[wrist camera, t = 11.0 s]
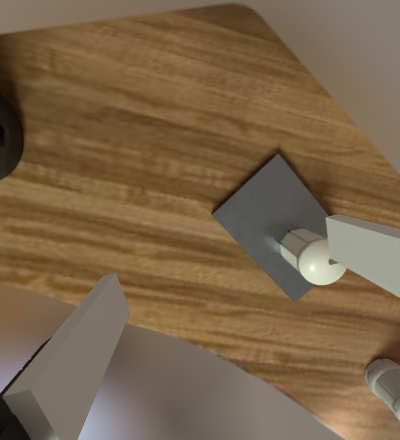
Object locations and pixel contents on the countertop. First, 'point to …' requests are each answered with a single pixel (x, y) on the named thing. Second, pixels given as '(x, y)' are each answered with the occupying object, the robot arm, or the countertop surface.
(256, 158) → the countertop surface
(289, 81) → the countertop surface
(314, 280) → the knob
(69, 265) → the countertop surface
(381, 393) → the mug
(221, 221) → the panel
